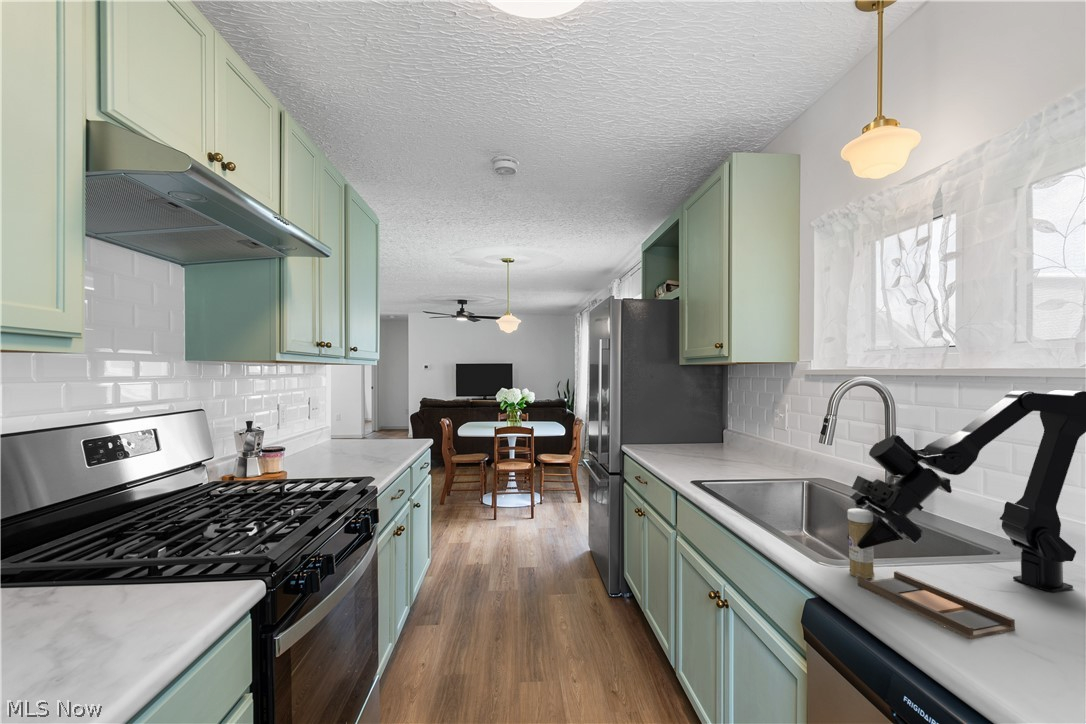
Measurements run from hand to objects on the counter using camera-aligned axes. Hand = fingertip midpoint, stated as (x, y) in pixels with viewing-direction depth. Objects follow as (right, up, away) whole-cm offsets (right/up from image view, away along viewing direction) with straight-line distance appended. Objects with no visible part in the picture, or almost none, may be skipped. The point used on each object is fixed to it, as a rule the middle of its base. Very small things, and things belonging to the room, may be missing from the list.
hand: (853, 543), depth 107 cm
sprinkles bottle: (+2, -7, 0) cm, 7 cm away
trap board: (+5, -7, -14) cm, 16 cm away
